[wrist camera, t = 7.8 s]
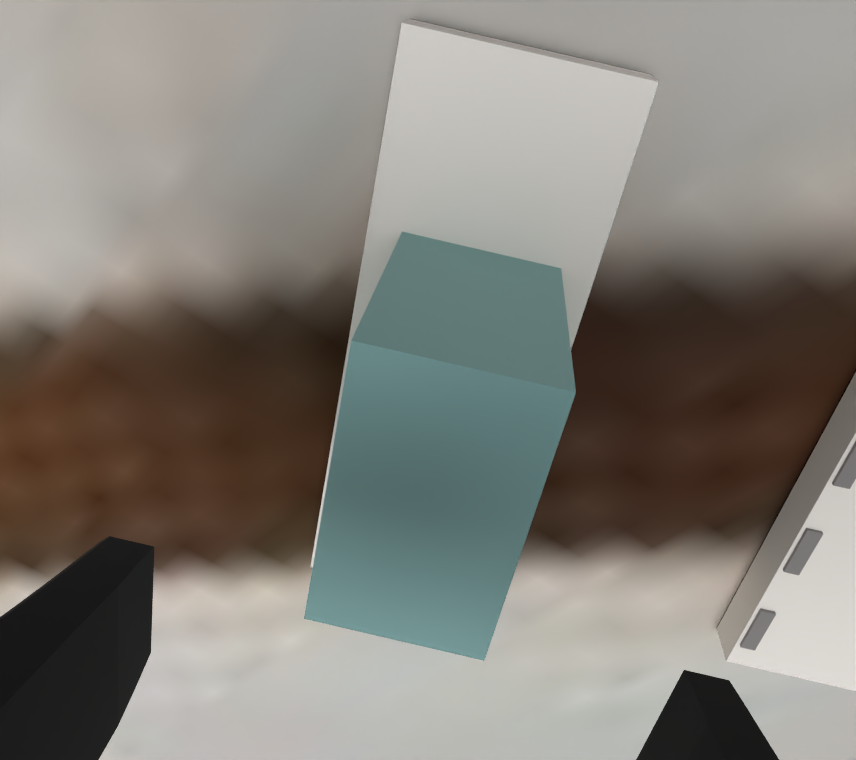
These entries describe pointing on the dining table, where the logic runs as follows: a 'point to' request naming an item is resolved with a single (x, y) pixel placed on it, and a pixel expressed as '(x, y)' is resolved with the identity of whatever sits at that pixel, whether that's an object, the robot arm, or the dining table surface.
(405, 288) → the stub
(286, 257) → the dining table surface
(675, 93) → the dining table surface
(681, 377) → the dining table surface
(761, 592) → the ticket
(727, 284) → the dining table surface
